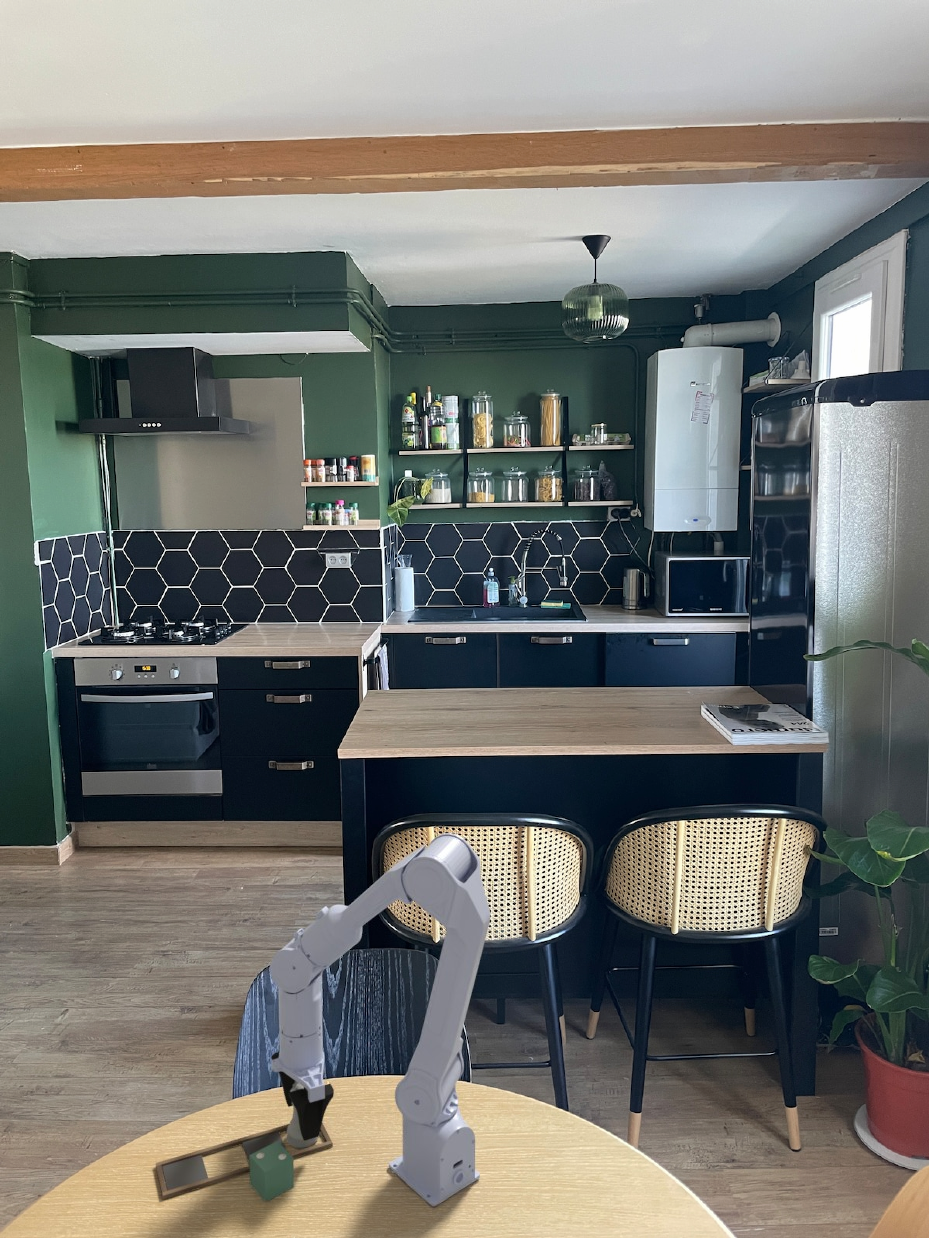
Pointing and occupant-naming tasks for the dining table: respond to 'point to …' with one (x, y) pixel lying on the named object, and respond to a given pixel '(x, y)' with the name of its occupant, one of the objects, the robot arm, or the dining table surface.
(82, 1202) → the dining table surface
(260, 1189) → the green die
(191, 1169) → the track board
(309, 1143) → the rook chess piece
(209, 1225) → the dining table surface
